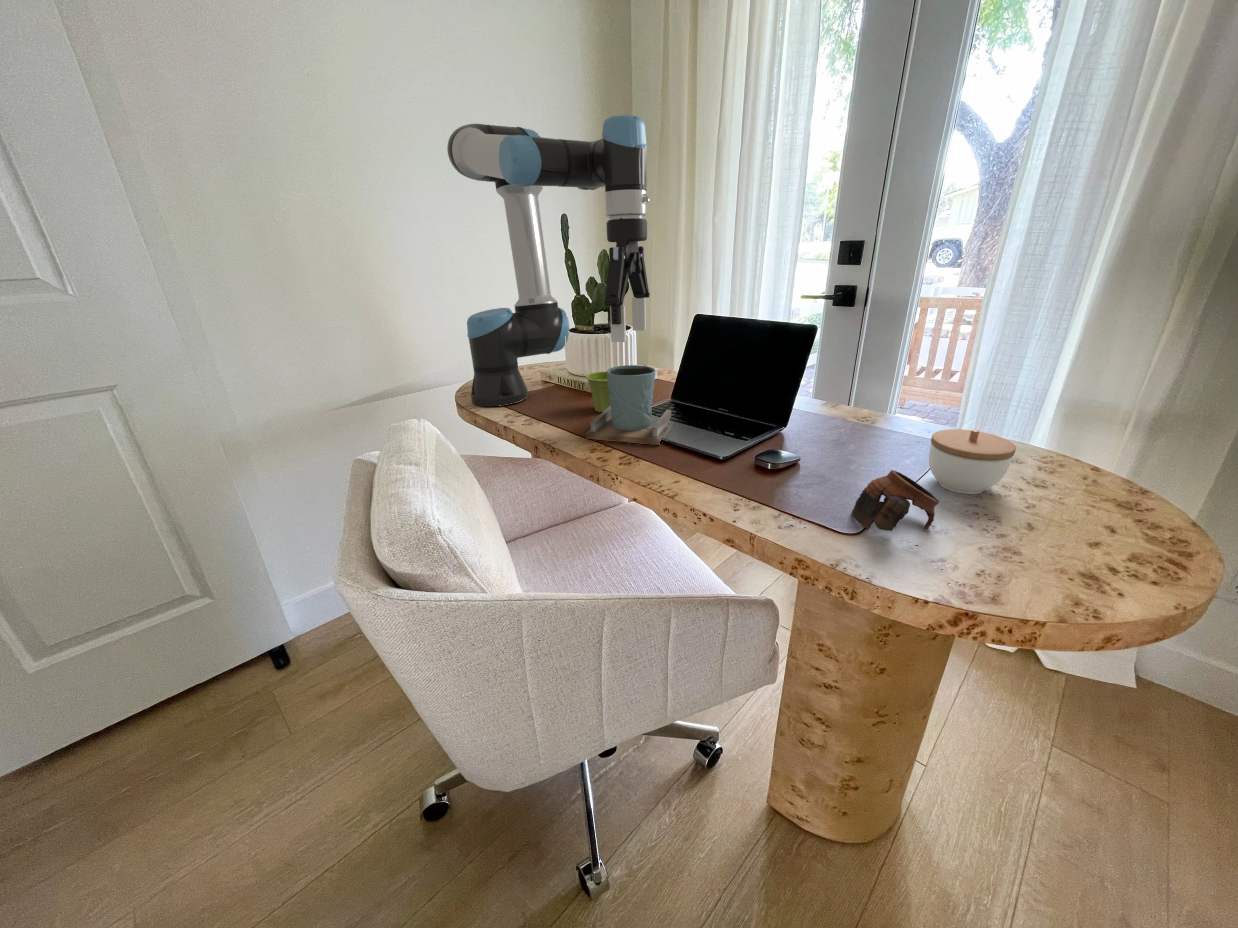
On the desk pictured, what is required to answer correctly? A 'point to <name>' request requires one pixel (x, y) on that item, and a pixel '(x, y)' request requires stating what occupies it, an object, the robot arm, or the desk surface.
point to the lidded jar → (969, 459)
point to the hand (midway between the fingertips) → (629, 336)
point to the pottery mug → (892, 501)
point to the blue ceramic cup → (631, 396)
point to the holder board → (605, 430)
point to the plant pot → (599, 390)
